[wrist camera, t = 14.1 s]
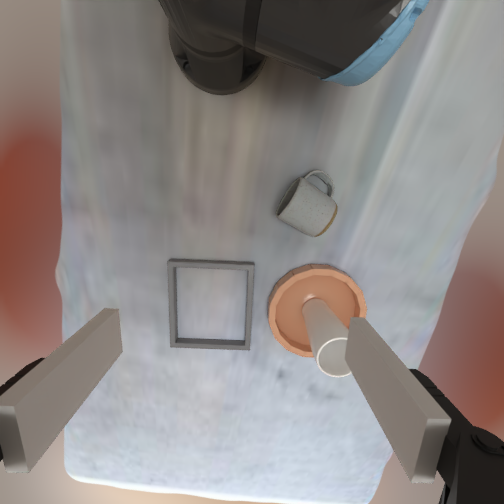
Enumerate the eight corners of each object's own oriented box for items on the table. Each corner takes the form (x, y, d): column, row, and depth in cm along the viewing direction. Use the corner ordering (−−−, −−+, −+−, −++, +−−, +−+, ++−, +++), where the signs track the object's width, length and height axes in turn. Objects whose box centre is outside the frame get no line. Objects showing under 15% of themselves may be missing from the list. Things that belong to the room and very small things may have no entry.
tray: (170, 258, 50) (167, 261, 48) (253, 262, 50) (254, 265, 48) (172, 342, 54) (170, 347, 52) (249, 345, 54) (249, 350, 52)
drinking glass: (299, 293, 51) (318, 336, 36) (333, 294, 51) (366, 338, 36) (296, 324, 52) (313, 377, 38) (329, 325, 52) (359, 379, 38)
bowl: (271, 262, 50) (272, 267, 47) (366, 266, 50) (373, 271, 47) (265, 346, 54) (266, 355, 51) (352, 349, 55) (358, 359, 52)
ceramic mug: (310, 236, 49) (321, 244, 41) (272, 214, 48) (277, 218, 40) (342, 185, 47) (360, 184, 39) (303, 161, 46) (314, 155, 38)
